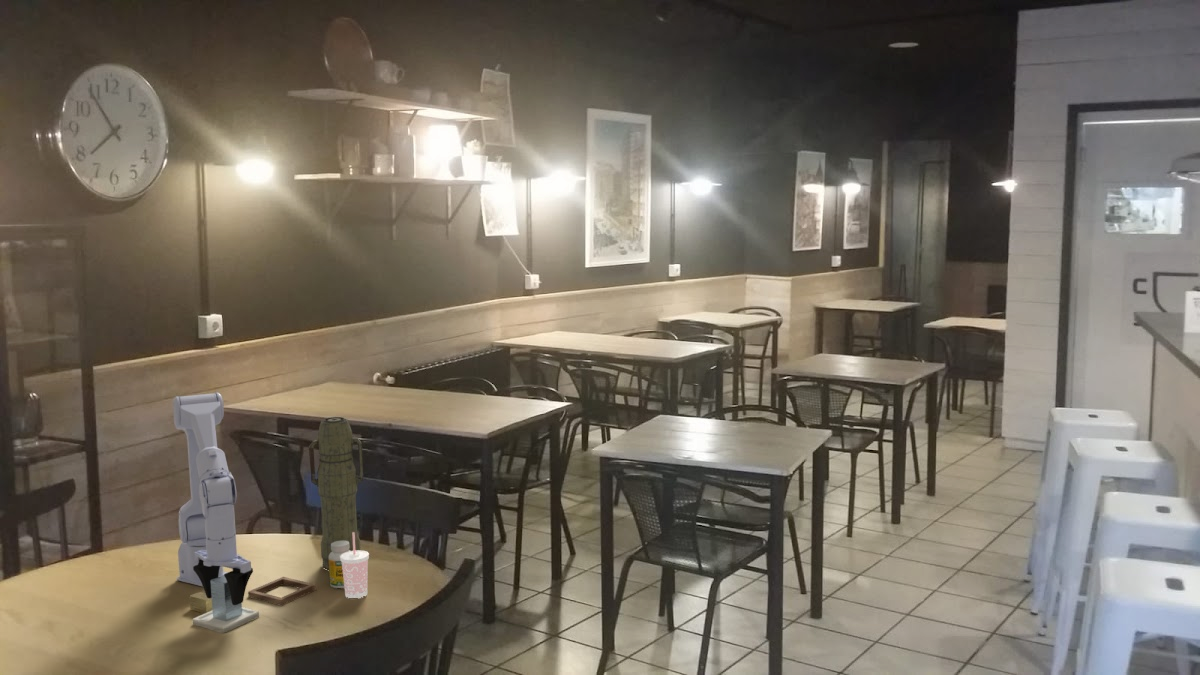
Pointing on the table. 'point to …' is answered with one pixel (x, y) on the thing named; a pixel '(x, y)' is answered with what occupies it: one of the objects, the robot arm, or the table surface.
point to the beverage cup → (355, 572)
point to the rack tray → (223, 626)
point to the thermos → (336, 483)
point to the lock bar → (200, 602)
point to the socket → (306, 589)
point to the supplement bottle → (337, 563)
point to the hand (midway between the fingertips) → (224, 600)
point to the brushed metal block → (223, 600)
